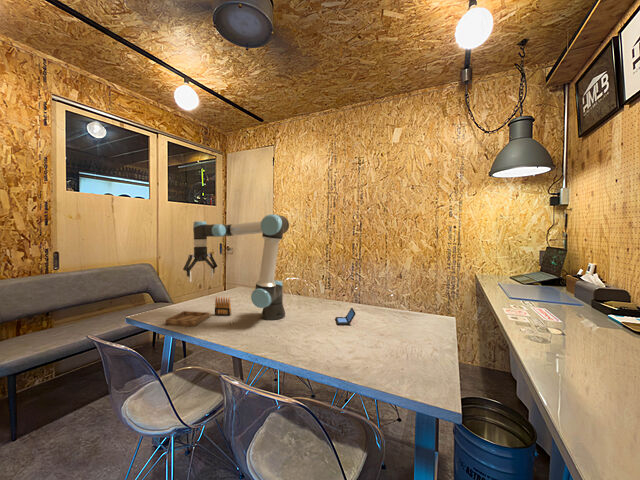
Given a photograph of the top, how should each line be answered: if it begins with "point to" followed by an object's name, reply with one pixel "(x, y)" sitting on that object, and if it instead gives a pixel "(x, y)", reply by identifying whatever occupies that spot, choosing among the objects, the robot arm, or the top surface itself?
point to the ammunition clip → (222, 307)
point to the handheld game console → (346, 318)
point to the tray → (188, 318)
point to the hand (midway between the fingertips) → (201, 280)
